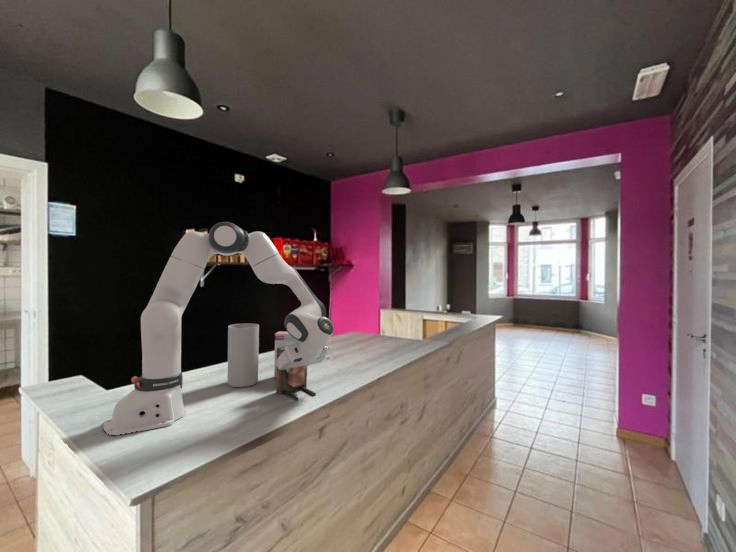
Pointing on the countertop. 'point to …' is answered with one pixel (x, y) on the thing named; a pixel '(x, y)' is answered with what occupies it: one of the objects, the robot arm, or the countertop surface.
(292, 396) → the cubby
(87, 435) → the countertop surface
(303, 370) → the block
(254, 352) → the cylinder vase
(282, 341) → the cracker box
